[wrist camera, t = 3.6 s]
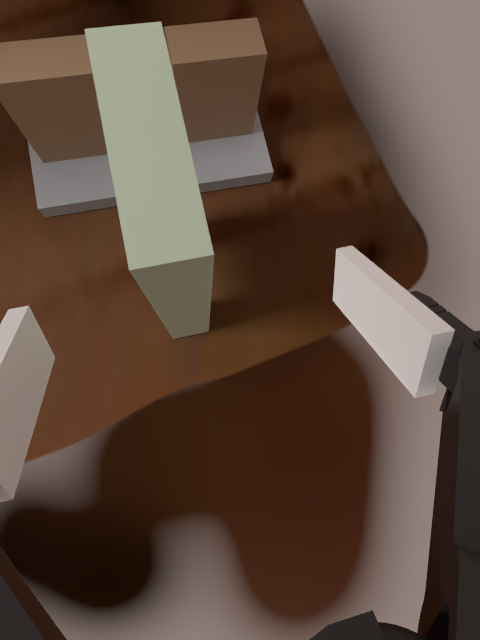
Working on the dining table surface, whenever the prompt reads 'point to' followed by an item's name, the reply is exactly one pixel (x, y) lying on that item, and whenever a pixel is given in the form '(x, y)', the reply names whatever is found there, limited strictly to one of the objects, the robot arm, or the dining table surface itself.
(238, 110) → the brown grey slotted block
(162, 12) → the dining table surface
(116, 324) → the dining table surface
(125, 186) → the green plank
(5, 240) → the dining table surface
